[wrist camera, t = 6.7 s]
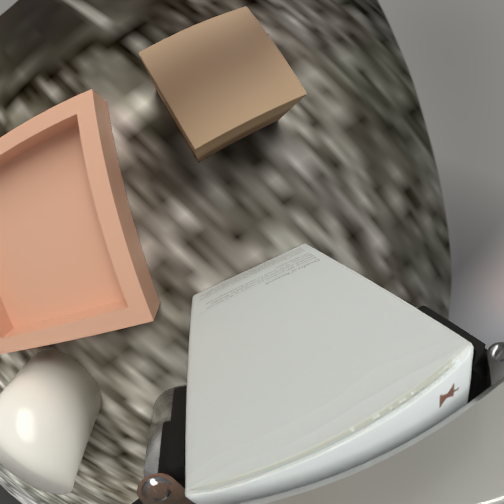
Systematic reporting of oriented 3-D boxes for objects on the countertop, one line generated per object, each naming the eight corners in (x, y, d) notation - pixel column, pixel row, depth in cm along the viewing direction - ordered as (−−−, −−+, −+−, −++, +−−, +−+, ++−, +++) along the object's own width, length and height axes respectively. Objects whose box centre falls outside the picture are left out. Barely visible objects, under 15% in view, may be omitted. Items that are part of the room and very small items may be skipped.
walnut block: (278, 120, 15) (306, 93, 10) (198, 162, 15) (194, 149, 10) (234, 52, 14) (246, 6, 9) (156, 90, 14) (138, 52, 9)
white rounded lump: (116, 415, 17) (93, 498, 10) (55, 419, 17) (23, 487, 9) (75, 343, 16) (22, 421, 8) (15, 355, 15) (-38, 416, 8)
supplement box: (188, 293, 16) (170, 494, 4) (306, 239, 17) (486, 336, 5) (241, 386, 18) (284, 558, 6) (341, 339, 19) (459, 470, 6)
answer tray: (160, 303, 16) (153, 321, 14) (16, 338, 15) (0, 354, 13) (106, 102, 13) (91, 89, 11) (-31, 177, 12) (-53, 177, 10)
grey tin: (245, 432, 19) (259, 492, 13) (172, 446, 19) (170, 506, 13) (222, 375, 18) (232, 442, 12) (139, 393, 17) (124, 457, 11)
